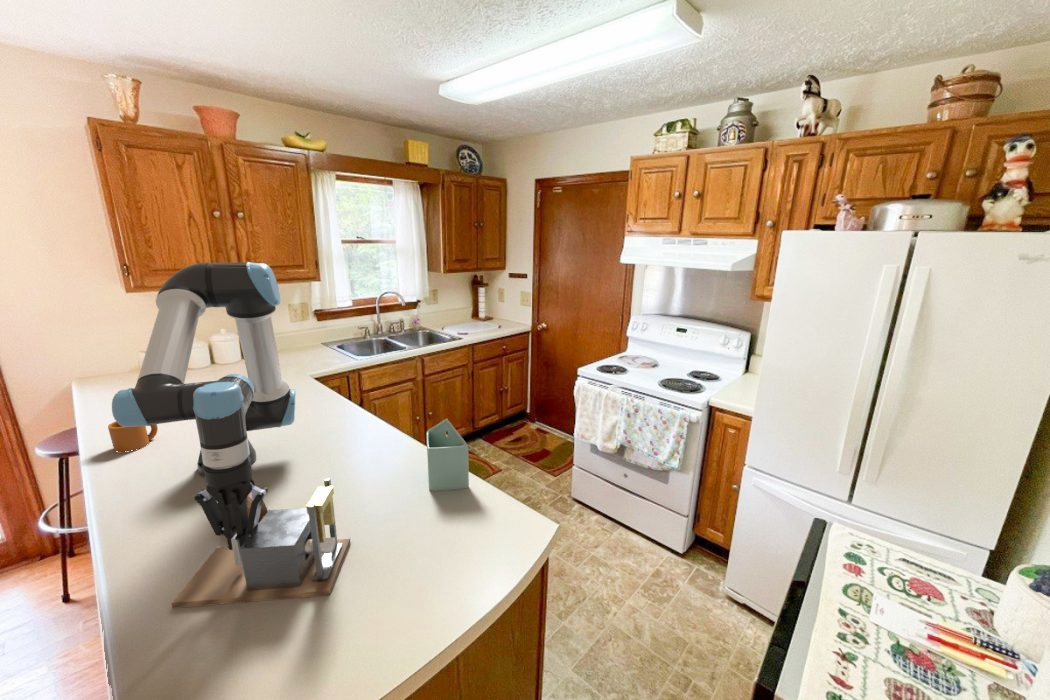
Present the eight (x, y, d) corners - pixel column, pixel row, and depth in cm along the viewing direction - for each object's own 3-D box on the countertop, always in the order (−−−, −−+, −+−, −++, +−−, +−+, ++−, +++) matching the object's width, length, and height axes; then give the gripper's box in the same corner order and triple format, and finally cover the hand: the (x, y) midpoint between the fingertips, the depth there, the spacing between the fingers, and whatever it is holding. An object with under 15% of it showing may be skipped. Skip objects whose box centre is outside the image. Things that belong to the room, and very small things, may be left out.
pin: (247, 573, 85) (243, 548, 83) (261, 552, 91) (257, 528, 89) (330, 567, 87) (327, 543, 85) (338, 546, 93) (336, 523, 91)
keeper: (311, 543, 84) (306, 506, 82) (322, 521, 91) (318, 486, 89) (326, 542, 85) (322, 505, 83) (336, 520, 91) (333, 485, 89)
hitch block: (247, 590, 82) (233, 514, 78) (274, 548, 94) (264, 479, 89) (326, 584, 84) (316, 509, 80) (343, 543, 96) (336, 475, 91)
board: (172, 608, 80) (171, 602, 79) (217, 552, 94) (217, 547, 94) (329, 595, 83) (328, 590, 83) (350, 543, 98) (349, 538, 97)
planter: (410, 481, 123) (407, 420, 118) (429, 470, 130) (427, 411, 125) (450, 500, 115) (449, 435, 110) (469, 487, 121) (468, 425, 116)
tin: (234, 515, 107) (228, 486, 105) (247, 509, 109) (242, 481, 107) (259, 540, 98) (254, 509, 96) (273, 533, 101) (268, 503, 98)
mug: (164, 442, 143) (159, 418, 141) (117, 456, 134) (110, 431, 132) (157, 434, 149) (151, 411, 146) (111, 447, 139) (104, 423, 137)
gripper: (179, 471, 77) (197, 575, 83) (251, 470, 78) (264, 572, 84) (204, 451, 84) (219, 549, 90) (270, 450, 86) (281, 546, 91)
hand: (241, 560), depth 87 cm, fingers closed
